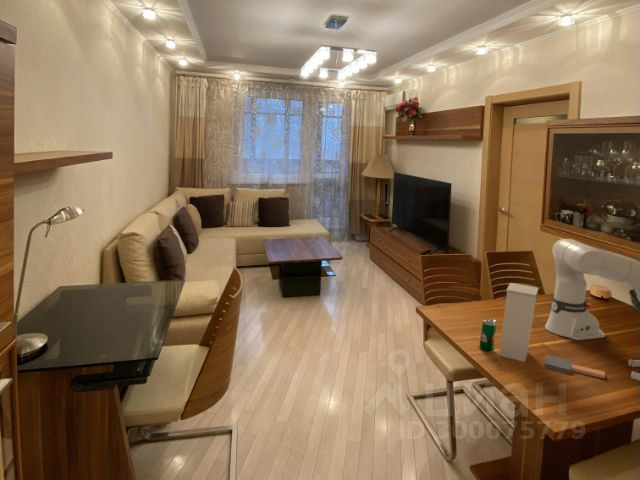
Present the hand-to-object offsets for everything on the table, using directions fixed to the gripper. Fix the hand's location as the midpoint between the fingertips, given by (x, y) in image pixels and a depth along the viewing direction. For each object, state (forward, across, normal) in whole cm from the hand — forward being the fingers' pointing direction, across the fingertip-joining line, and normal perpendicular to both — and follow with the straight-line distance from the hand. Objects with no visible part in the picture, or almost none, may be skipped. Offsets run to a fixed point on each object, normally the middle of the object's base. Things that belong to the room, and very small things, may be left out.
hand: (629, 368), depth 140 cm
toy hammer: (+15, 0, -5) cm, 16 cm away
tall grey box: (+35, 0, -5) cm, 36 cm away
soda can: (+45, -2, -5) cm, 45 cm away
